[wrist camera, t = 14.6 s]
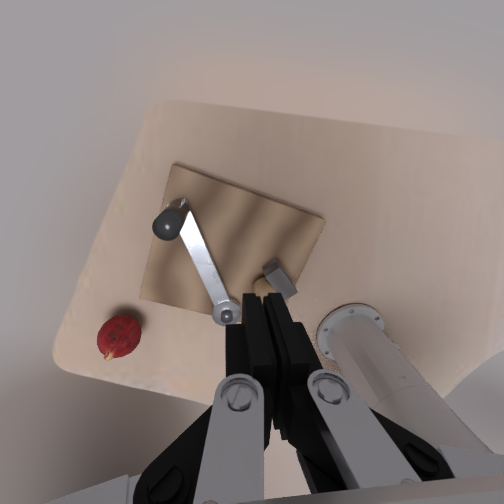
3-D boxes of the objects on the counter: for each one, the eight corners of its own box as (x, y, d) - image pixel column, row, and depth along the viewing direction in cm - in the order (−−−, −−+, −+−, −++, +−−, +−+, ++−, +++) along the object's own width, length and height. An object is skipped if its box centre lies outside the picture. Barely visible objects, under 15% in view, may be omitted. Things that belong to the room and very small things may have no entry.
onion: (111, 301, 39) (86, 337, 32) (149, 308, 41) (134, 344, 33) (107, 331, 41) (83, 371, 34) (144, 337, 43) (128, 376, 35)
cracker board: (321, 217, 38) (336, 227, 33) (271, 322, 44) (278, 345, 39) (174, 163, 33) (166, 166, 28) (142, 291, 39) (130, 312, 34)
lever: (244, 315, 40) (250, 359, 32) (218, 323, 40) (217, 370, 32) (192, 192, 32) (182, 208, 24) (160, 203, 32) (138, 223, 24)
